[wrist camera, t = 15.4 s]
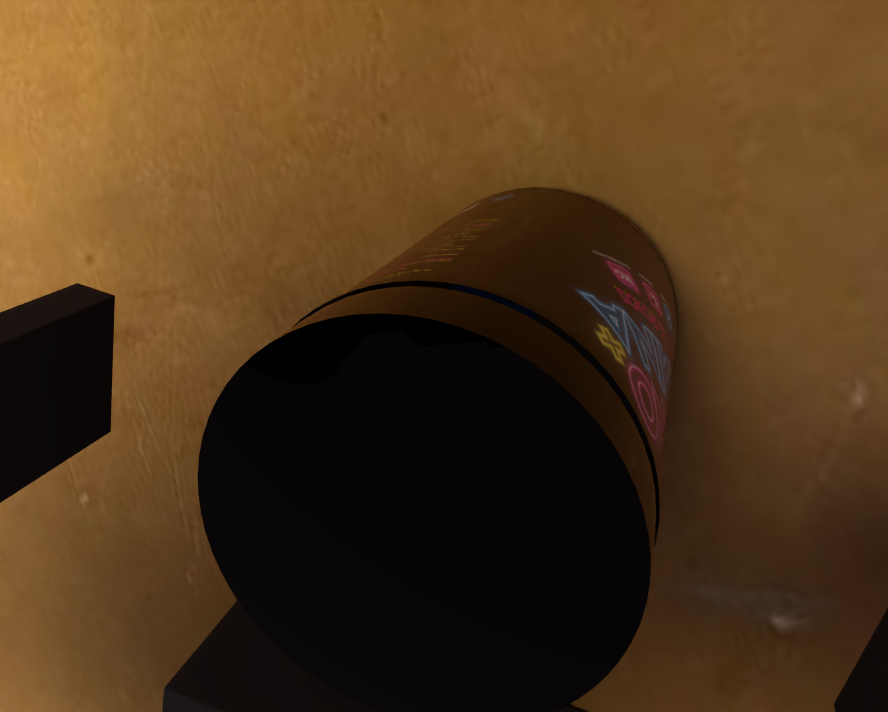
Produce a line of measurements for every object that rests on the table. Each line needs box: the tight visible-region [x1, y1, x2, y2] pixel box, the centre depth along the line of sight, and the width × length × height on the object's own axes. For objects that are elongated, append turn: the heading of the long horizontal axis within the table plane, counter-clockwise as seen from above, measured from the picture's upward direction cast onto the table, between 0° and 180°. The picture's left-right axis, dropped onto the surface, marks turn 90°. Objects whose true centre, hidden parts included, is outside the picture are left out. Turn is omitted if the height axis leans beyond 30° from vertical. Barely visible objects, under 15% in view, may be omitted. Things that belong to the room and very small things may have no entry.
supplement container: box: [198, 187, 677, 712], centre depth 16 cm, size 7×7×10 cm
